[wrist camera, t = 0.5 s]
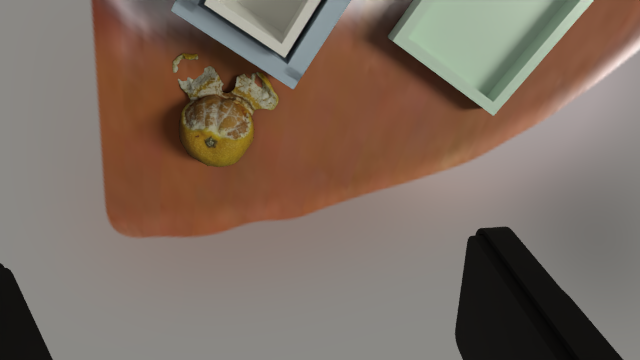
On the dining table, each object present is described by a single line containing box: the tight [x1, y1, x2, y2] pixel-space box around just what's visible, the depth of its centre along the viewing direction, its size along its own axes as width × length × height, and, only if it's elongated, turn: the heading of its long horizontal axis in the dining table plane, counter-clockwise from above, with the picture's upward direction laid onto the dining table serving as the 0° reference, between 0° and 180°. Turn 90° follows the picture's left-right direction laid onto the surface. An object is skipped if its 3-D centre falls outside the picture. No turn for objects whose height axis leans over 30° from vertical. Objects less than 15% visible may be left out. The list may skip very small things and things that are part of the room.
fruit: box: [173, 54, 279, 167], centre depth 32 cm, size 8×8×4 cm
